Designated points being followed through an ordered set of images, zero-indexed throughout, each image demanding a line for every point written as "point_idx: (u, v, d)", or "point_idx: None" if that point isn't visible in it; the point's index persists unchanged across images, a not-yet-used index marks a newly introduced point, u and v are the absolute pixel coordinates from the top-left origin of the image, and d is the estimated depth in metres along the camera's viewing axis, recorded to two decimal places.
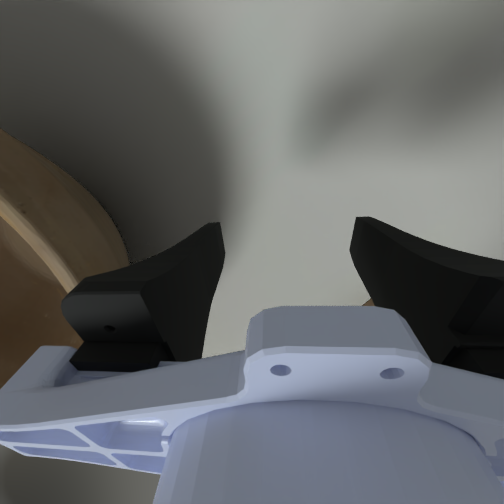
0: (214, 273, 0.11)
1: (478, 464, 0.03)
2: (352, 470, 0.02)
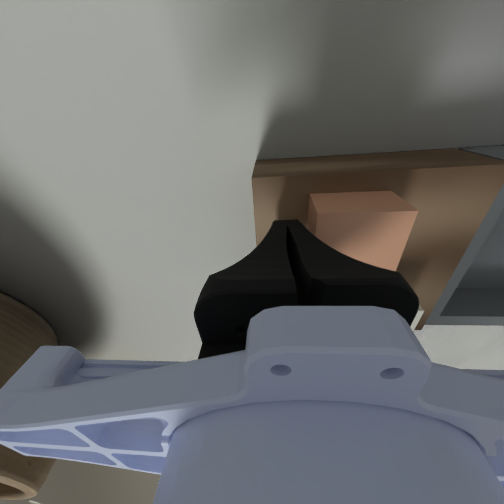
0: None
1: (478, 464, 0.03)
2: (352, 470, 0.02)
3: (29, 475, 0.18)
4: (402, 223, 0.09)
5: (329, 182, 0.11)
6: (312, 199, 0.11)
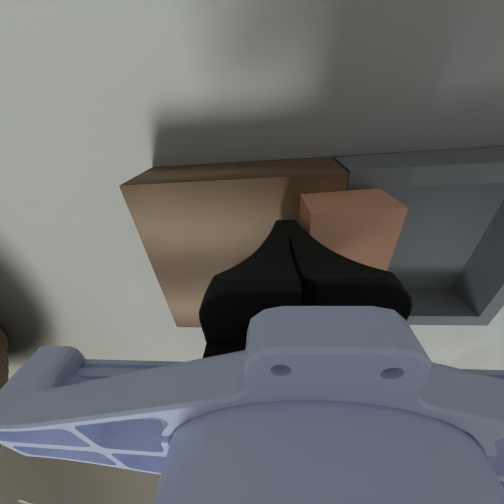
0: None
1: (478, 464, 0.03)
2: (351, 470, 0.02)
3: None
4: (393, 220, 0.09)
5: (190, 190, 0.12)
6: (304, 199, 0.11)
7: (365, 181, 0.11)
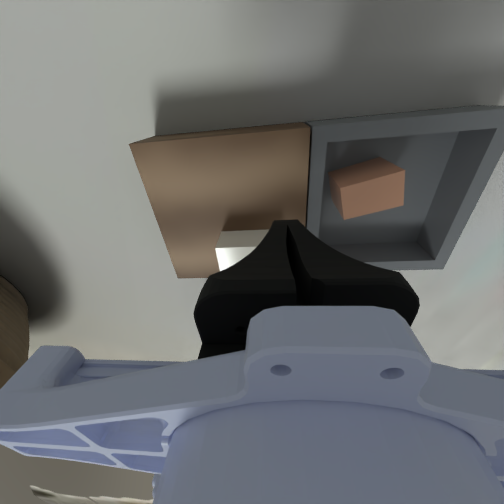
0: None
1: (478, 464, 0.03)
2: (352, 470, 0.02)
3: None
4: None
5: (185, 146, 0.15)
6: (341, 199, 0.16)
7: (325, 135, 0.14)
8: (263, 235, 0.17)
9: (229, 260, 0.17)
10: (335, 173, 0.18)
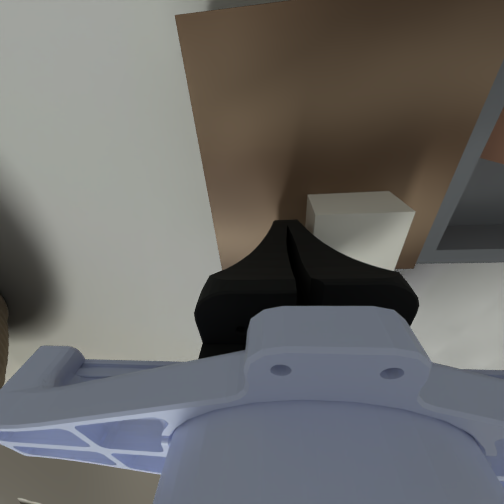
0: None
1: (478, 464, 0.03)
2: (351, 470, 0.02)
3: None
4: None
5: (281, 18, 0.08)
6: None
7: None
8: (385, 197, 0.10)
9: (333, 237, 0.10)
10: None
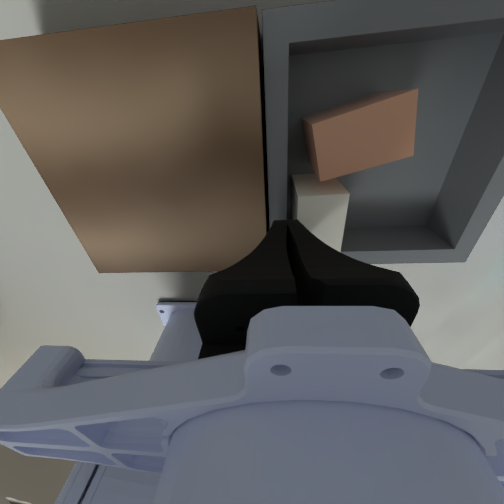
0: None
1: (478, 464, 0.03)
2: (352, 470, 0.02)
3: None
4: None
5: (55, 48, 0.09)
6: (315, 144, 0.10)
7: (285, 29, 0.08)
8: (306, 176, 0.14)
9: None
10: (310, 116, 0.12)
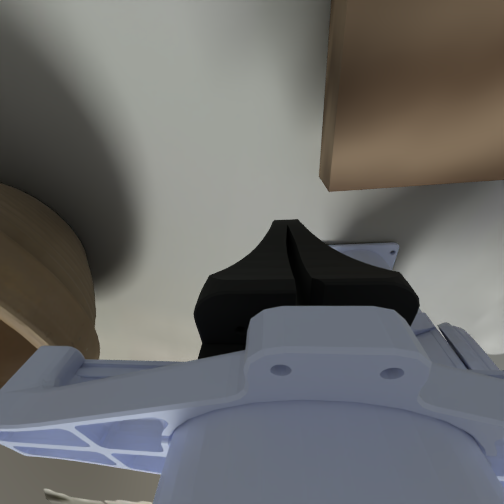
0: None
1: (478, 464, 0.03)
2: (351, 470, 0.02)
3: None
4: None
5: None
6: None
7: None
8: None
9: None
10: None
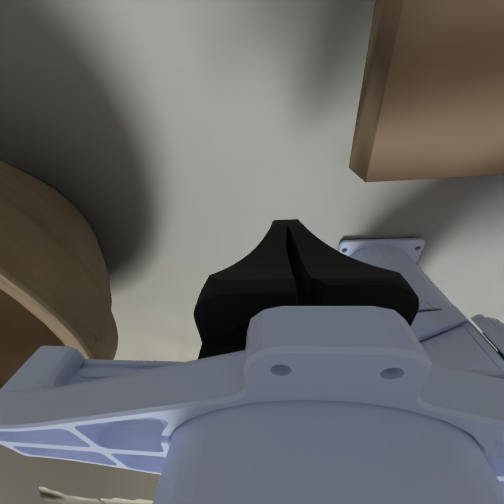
0: None
1: (478, 464, 0.03)
2: (352, 470, 0.02)
3: (95, 354, 0.15)
4: None
5: None
6: None
7: None
8: None
9: None
10: None
